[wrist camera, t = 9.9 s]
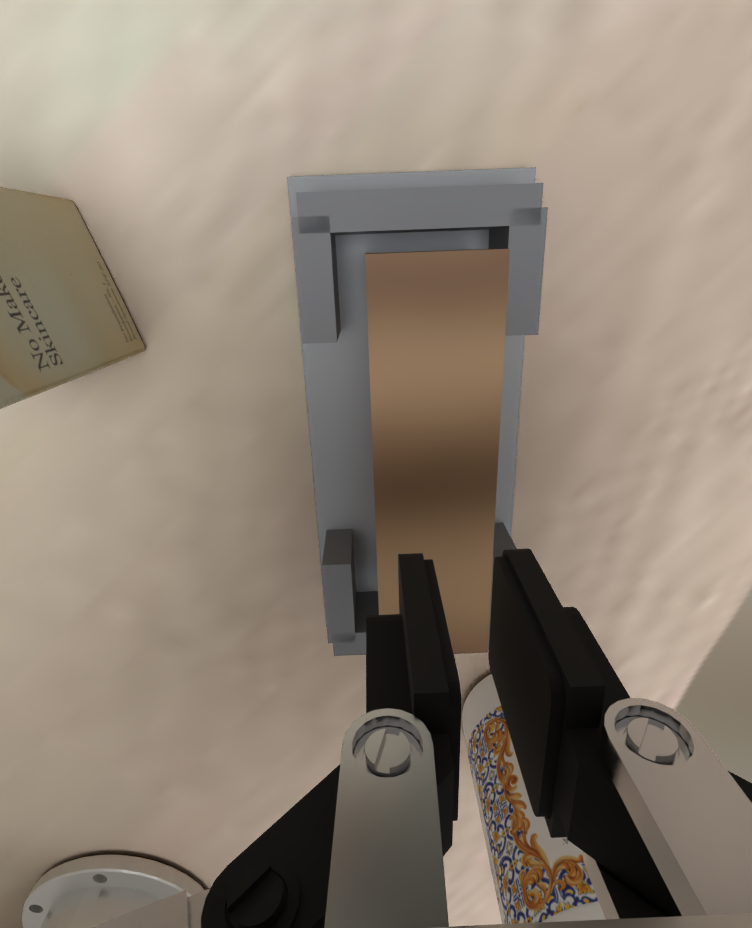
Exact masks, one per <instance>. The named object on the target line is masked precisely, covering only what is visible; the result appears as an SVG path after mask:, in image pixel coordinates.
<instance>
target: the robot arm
mask: <svg viewBox="0 0 752 928" xmlns="http://www.w3.org/2000/svg"><path fill="white" fill-rule="evenodd" d="M398 581H399V614H389V615H366V714H364V715H362V716H361V717H359V718H358V719H357V720H356V721H354V722H353V723H352V724H351V726H350V727H349V729H348V730H347V732H346V733H345V737H344V740H343V744H342V752H341V762H340V765H339V766H338V767H337V768H335V769H334V770H333V771H332V772H331V773H330V774H329V775H328V776H327V777H325V778H324V779H323V780H322V781H321V782H320V783H319V784H318V785H317V786H315V787H314V788H313V789H312V790H311V791H310V792H309V793H308V794H307V795H305V796H304V797H303V798H302V799H301V800H300V801H299V802H298V803H297V804H295V805H294V806H293V807H292V808H291V809H290V810H289V811H288V812H287V813H285V814H284V815H283V816H282V817H281V818H280V819H279V820H278V821H277V822H276V823H274V824H273V825H272V826H271V827H270V828H269V829H268V830H267V831H266V832H264V833H263V834H262V835H261V836H260V837H259V838H258V839H257V840H256V841H254V842H253V843H252V844H251V845H250V846H249V847H248V848H247V849H246V850H244V851H243V852H242V853H241V854H240V855H239V856H238V857H237V858H236V859H234V860H233V861H232V862H231V863H230V864H229V865H228V866H227V867H226V868H225V869H224V870H223V872H222V873H221V874H220V875H219V876H218V877H217V878H216V880H215V881H214V883H213V885H212V887H211V888H209V889H207V890H204V889H203V888H202V886H201V885H200V884H199V883H197V882H196V881H195V880H193V879H192V878H191V877H189V876H188V875H187V874H185V873H183V872H181V871H179V870H177V869H175V868H173V867H171V866H168V865H166V864H163V863H160V862H157V861H154V860H150V859H146V858H141V857H136V856H127V855H95V856H88V857H82V858H78V859H75V860H71V861H68V862H65V863H63V864H61V865H59V866H57V867H55V868H53V869H51V870H50V871H48V872H47V873H46V874H44V875H43V876H42V877H41V878H40V879H39V880H38V881H37V883H36V884H35V885H34V887H33V888H32V890H31V892H30V894H29V896H28V898H27V900H26V902H25V904H24V906H23V911H22V916H21V918H22V925H23V928H752V783H750V782H748V781H746V780H744V779H742V778H741V777H739V776H737V775H735V774H733V773H731V772H729V771H727V769H726V768H725V767H724V765H723V764H722V763H721V761H720V760H719V759H718V757H717V756H716V755H715V753H714V752H713V751H712V749H711V748H710V747H709V745H708V744H707V743H706V741H705V740H704V739H703V737H702V736H701V734H700V733H699V732H698V730H697V729H696V728H695V727H694V726H693V725H692V724H691V723H690V722H689V721H688V720H687V719H686V718H685V717H683V716H682V715H681V714H679V713H678V712H676V711H675V710H673V709H671V708H669V707H667V706H665V705H663V704H661V703H659V702H655V701H651V700H647V699H639V698H630V696H629V695H628V693H627V691H626V690H625V688H624V686H623V685H622V683H621V681H620V680H619V678H618V676H617V675H616V673H615V671H614V670H613V668H612V666H611V664H610V663H609V661H608V659H607V658H606V656H605V654H604V653H603V651H602V649H601V648H600V646H599V644H598V643H597V641H596V639H595V638H594V636H593V634H592V632H591V631H590V629H589V627H588V626H587V624H586V622H585V621H584V619H583V617H582V616H581V614H580V613H579V611H578V610H577V609H576V608H574V607H562V605H561V603H560V602H559V600H558V598H557V596H556V594H555V593H554V591H553V589H552V587H551V585H550V584H549V582H548V580H547V578H546V576H545V574H544V573H543V571H542V569H541V567H540V565H539V564H538V562H537V560H536V558H535V556H534V555H533V553H532V551H531V550H530V549H510V550H504V551H503V553H502V556H499V557H495V558H494V564H493V582H492V600H491V619H490V637H489V665H490V670H491V673H492V677H493V680H494V683H495V687H496V690H497V693H498V697H499V700H500V703H501V707H502V710H503V713H504V717H505V720H506V724H507V727H508V730H509V734H510V737H511V740H512V744H513V747H514V750H515V754H516V757H517V760H518V764H519V767H520V770H521V774H522V777H523V780H524V784H525V787H526V790H527V794H528V797H529V800H530V804H531V807H532V810H533V813H534V815H535V816H536V817H544V818H545V821H546V824H547V827H548V830H549V833H550V837H551V838H561V837H567V840H568V841H570V842H571V843H572V844H574V845H575V846H576V847H578V848H579V849H581V850H582V851H583V860H584V864H585V868H586V870H587V873H588V876H589V878H590V881H591V883H592V886H593V888H594V891H595V893H596V896H597V898H598V901H599V903H600V906H601V908H602V911H603V913H604V916H605V918H606V920H584V921H561V922H539V923H516V924H496V925H476V926H456V927H449V923H448V912H447V900H446V888H445V877H444V865H443V856H444V855H445V853H446V852H447V851H448V850H449V848H450V847H451V846H452V830H453V821H456V820H457V819H458V791H459V760H460V729H461V692H460V683H459V677H458V672H457V668H456V663H455V659H454V654H453V650H452V645H451V640H450V636H449V631H448V627H447V622H446V618H445V613H444V608H443V604H442V599H441V595H440V590H439V586H438V581H437V576H436V572H435V567H434V563H433V559H426V560H424V557H423V553H412V554H398Z"/></svg>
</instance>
